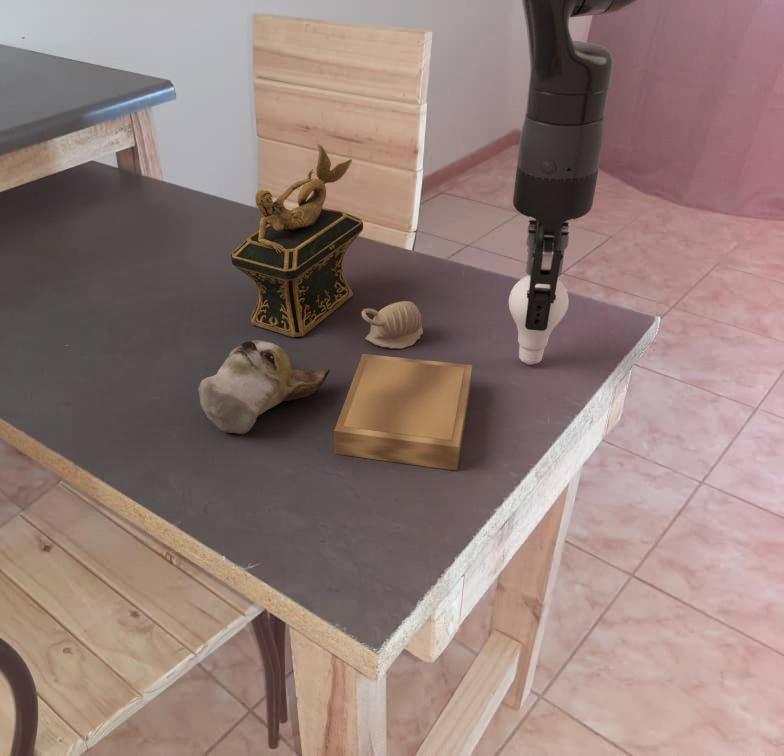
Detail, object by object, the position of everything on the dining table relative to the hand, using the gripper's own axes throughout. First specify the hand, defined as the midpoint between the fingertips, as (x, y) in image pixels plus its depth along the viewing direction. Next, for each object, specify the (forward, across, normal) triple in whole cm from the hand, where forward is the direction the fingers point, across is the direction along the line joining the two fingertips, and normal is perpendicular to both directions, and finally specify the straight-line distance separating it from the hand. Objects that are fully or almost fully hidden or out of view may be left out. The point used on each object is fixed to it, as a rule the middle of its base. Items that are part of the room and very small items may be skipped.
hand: (536, 312), depth 84 cm
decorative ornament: (+7, +2, +16) cm, 18 cm away
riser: (+7, -13, +12) cm, 19 cm away
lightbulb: (+7, 0, 0) cm, 7 cm away
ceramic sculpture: (+7, -14, +28) cm, 32 cm away
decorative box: (+7, +9, +28) cm, 30 cm away
